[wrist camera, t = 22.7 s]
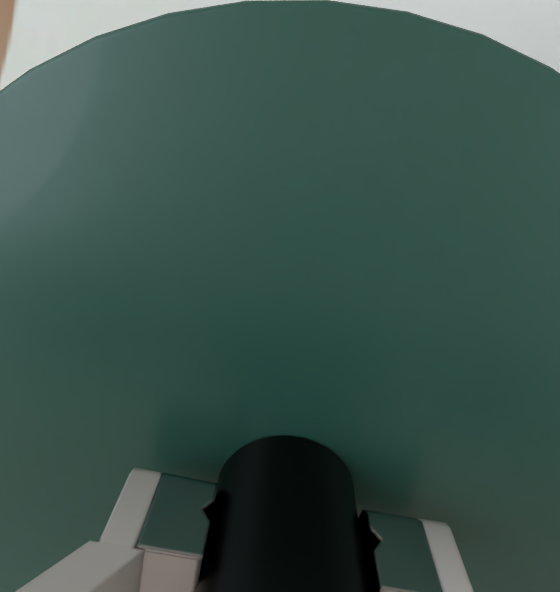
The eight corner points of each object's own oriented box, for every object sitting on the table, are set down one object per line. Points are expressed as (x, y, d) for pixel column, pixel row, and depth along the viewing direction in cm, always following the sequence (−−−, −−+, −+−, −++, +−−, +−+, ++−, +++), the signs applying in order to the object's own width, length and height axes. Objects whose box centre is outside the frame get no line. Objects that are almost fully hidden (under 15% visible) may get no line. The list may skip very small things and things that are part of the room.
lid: (516, 736, 14) (614, 1025, 10) (-77, 640, 13) (-259, 903, 9) (888, 132, 8) (1584, 173, 4) (-150, -97, 7) (-792, -375, 3)
